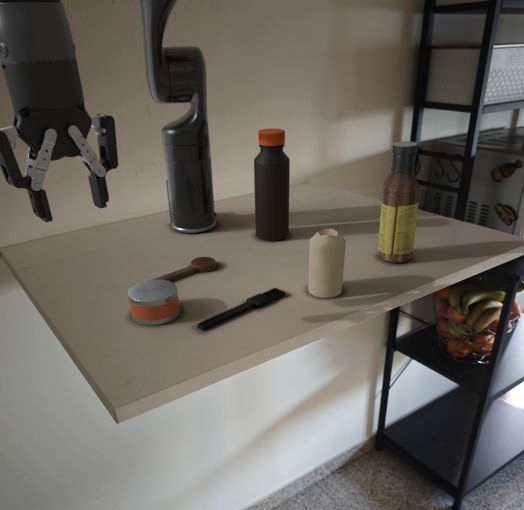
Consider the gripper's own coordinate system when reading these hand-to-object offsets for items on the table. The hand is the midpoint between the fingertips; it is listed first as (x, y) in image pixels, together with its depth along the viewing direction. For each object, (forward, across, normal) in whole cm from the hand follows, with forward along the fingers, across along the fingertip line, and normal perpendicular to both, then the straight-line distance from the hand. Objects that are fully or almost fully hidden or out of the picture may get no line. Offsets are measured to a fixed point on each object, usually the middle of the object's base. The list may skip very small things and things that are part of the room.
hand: (74, 213), depth 61 cm
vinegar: (+18, -44, -11) cm, 49 cm away
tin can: (+18, -9, 0) cm, 20 cm away
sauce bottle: (+18, -52, +13) cm, 57 cm away
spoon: (+18, -19, -8) cm, 27 cm away
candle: (+18, -33, +13) cm, 40 cm away
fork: (+18, -20, +8) cm, 28 cm away
